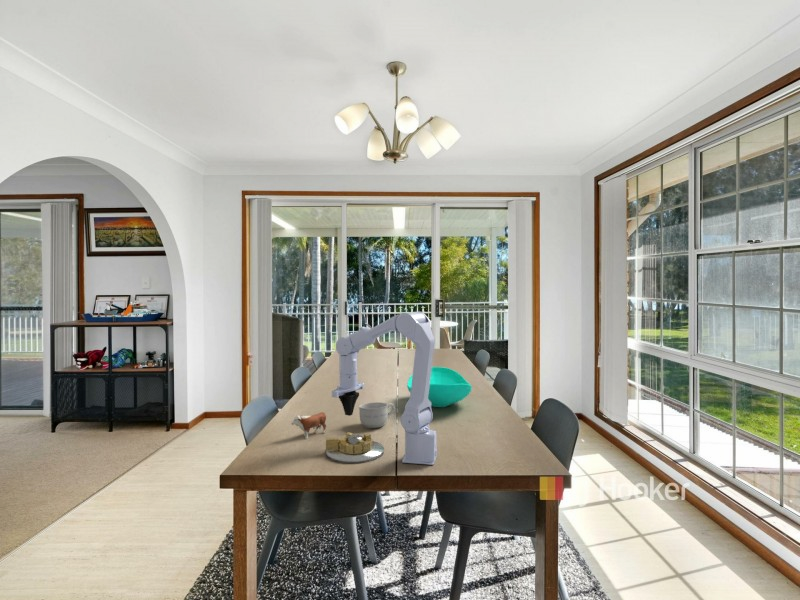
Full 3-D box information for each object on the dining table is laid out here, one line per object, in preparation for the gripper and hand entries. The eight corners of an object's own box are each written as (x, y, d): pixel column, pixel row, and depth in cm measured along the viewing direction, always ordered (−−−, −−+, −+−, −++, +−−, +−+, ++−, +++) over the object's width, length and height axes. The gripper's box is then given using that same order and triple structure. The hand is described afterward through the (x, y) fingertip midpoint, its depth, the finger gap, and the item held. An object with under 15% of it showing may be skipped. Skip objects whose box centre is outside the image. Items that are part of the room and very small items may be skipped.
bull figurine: (289, 439, 157) (289, 415, 157) (322, 430, 166) (322, 407, 166) (296, 442, 154) (296, 418, 154) (329, 433, 163) (329, 410, 163)
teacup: (361, 431, 165) (361, 409, 164) (356, 422, 175) (356, 402, 175) (399, 428, 168) (399, 406, 168) (392, 419, 179) (392, 399, 178)
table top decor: (480, 417, 181) (480, 384, 180) (410, 419, 180) (410, 385, 179) (462, 393, 221) (462, 366, 220) (404, 394, 219) (404, 367, 219)
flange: (389, 444, 151) (389, 429, 151) (375, 465, 134) (375, 449, 133) (337, 440, 155) (337, 426, 155) (317, 460, 137) (317, 444, 137)
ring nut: (335, 440, 151) (335, 429, 151) (375, 443, 148) (375, 433, 148) (322, 451, 141) (322, 440, 141) (365, 455, 138) (365, 443, 138)
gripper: (352, 368, 158) (352, 408, 159) (324, 376, 146) (324, 418, 147) (369, 370, 155) (369, 410, 155) (341, 378, 142) (342, 421, 143)
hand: (348, 414), depth 151 cm, fingers closed
